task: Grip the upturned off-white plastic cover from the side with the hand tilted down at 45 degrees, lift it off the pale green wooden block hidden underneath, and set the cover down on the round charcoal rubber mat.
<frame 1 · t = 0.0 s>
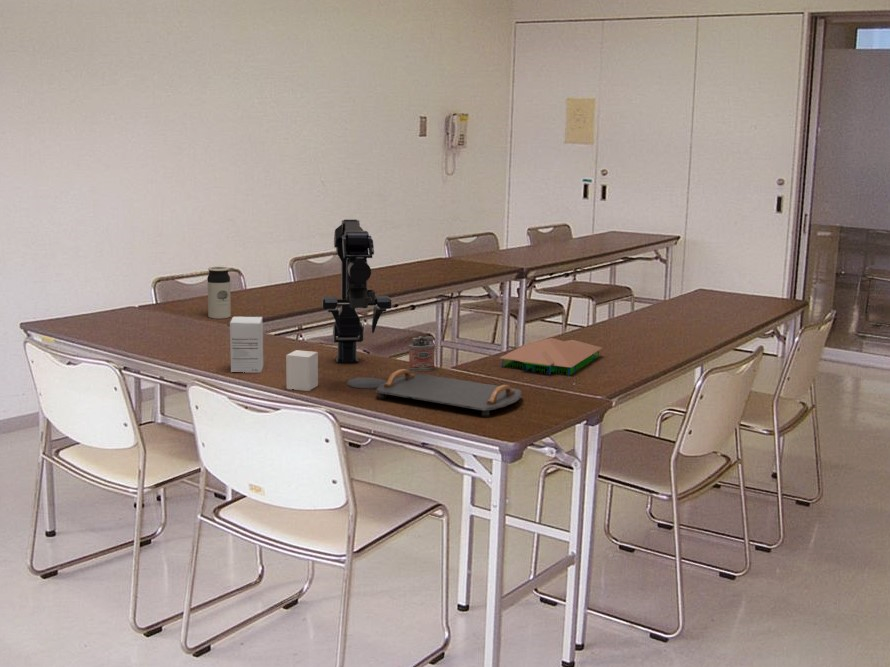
hand: (356, 333, 292), 15 cm above the table, tool pointing down, fingers open, 9 cm apart
lighter: (421, 370, 314), on the table
mat: (366, 383, 296), on the table
supplement box: (247, 370, 310), on the table
serving board: (448, 401, 283), on the table
block: (302, 380, 291), in the cover
cover: (302, 387, 291), on the table
house: (549, 364, 327), on the table
travel mug: (219, 317, 385), on the table
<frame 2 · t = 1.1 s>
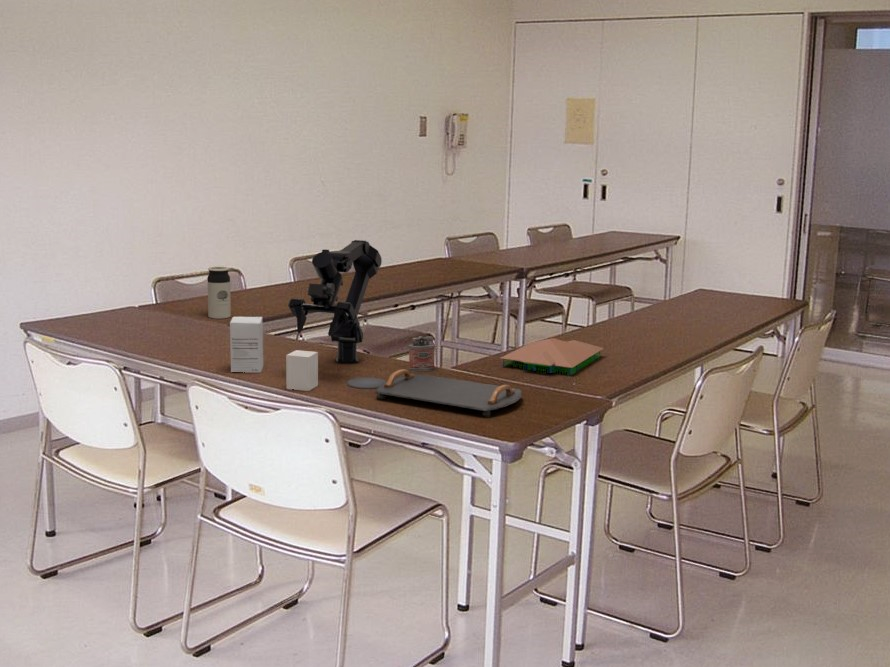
hand: (313, 334, 296), 13 cm above the table, tool tilted 45°, fingers open, 9 cm apart
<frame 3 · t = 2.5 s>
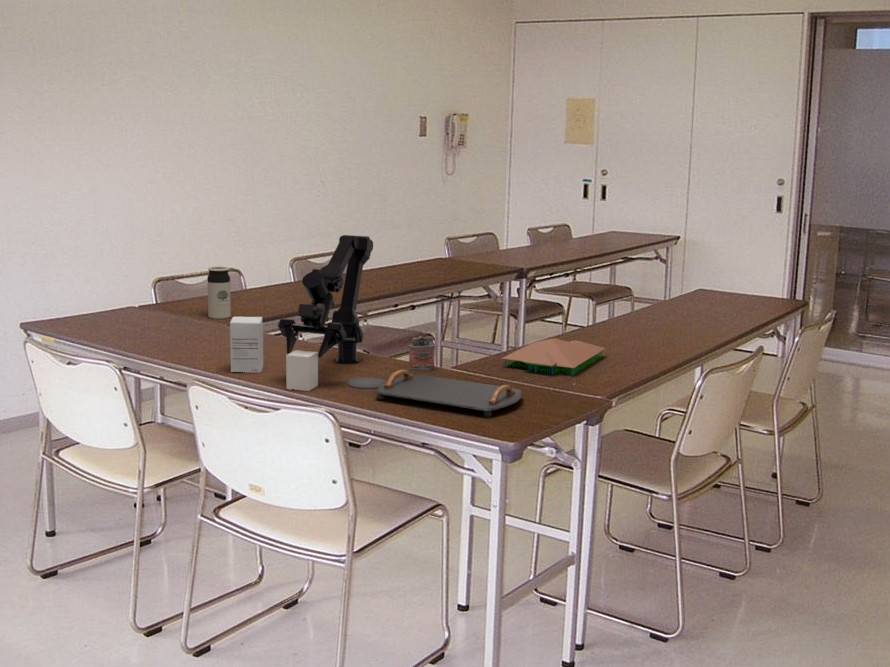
hand: (303, 355, 290), 9 cm above the table, tool tilted 45°, fingers open, 9 cm apart
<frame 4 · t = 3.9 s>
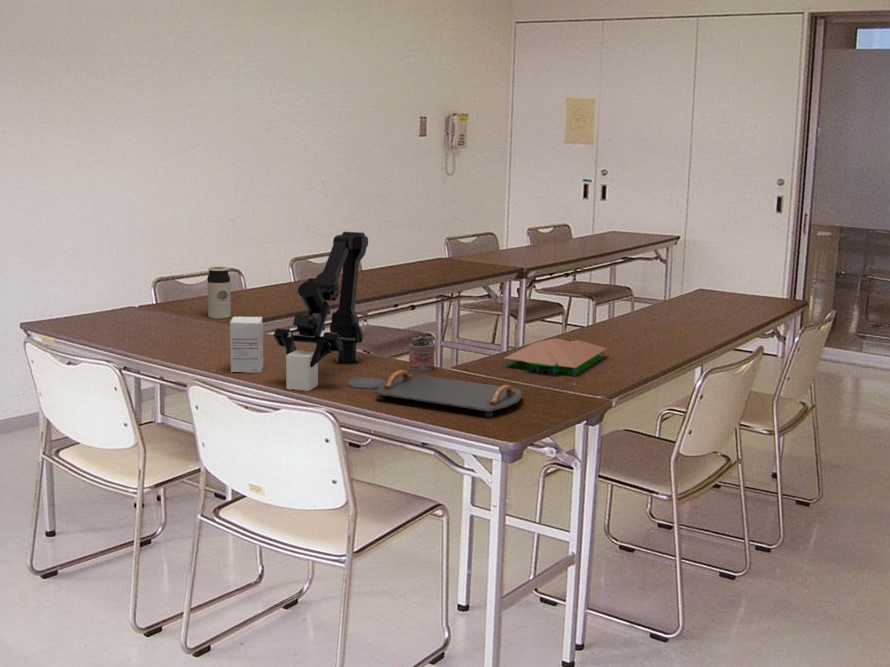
hand: (299, 365, 288), 7 cm above the table, tool tilted 45°, fingers closed on cover, 6 cm apart
cover: (302, 387, 291), on the table, touching gripper
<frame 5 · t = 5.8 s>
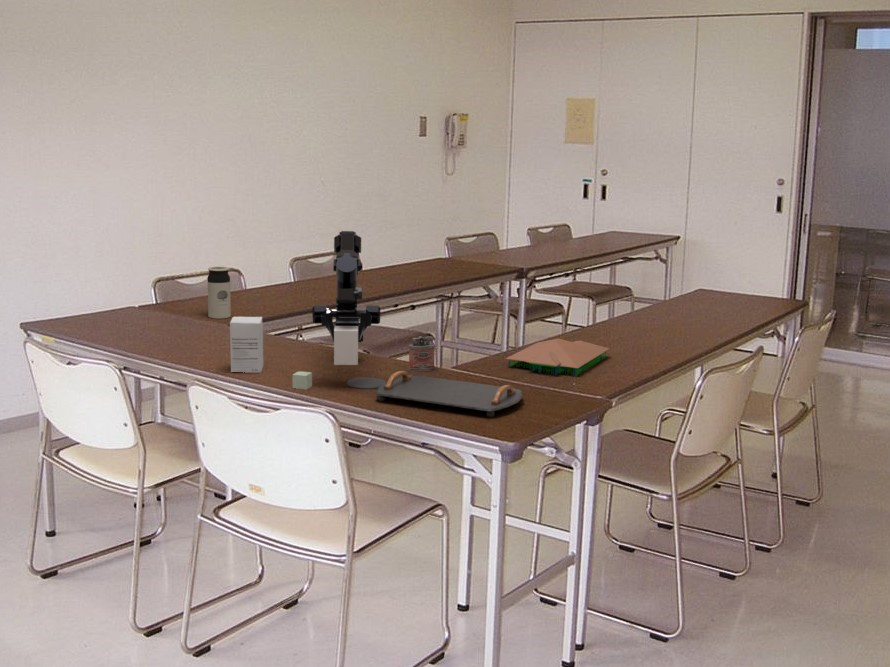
hand: (346, 340, 289), 13 cm above the table, tool tilted 45°, fingers closed on cover, 6 cm apart
cover: (346, 362, 292), point 7 cm above the table, touching gripper
when the fingers open (8 cm above the table, at t = 8.0 s): cover drops 1 cm, resting on mat.
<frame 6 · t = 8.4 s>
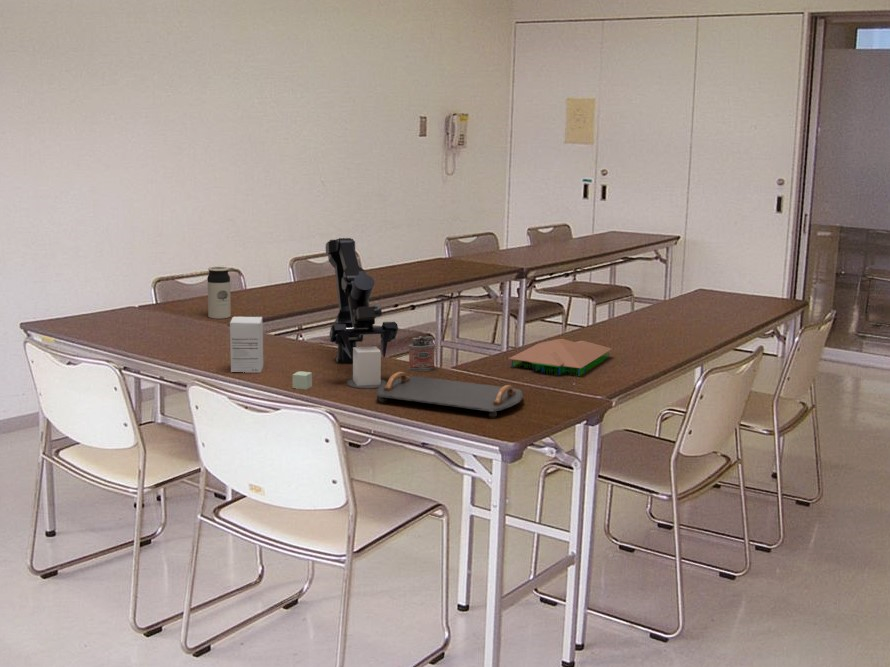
hand: (368, 357, 293), 8 cm above the table, tool tilted 45°, fingers open, 9 cm apart
cover: (366, 382, 296), resting on mat
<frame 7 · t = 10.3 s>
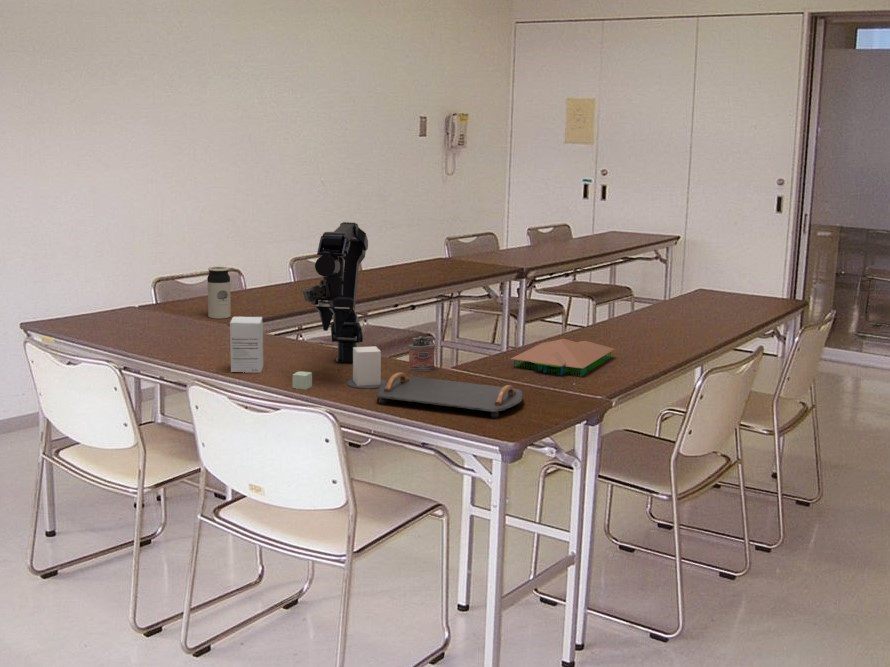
hand: (331, 331, 300), 13 cm above the table, tool pointing down, fingers open, 9 cm apart
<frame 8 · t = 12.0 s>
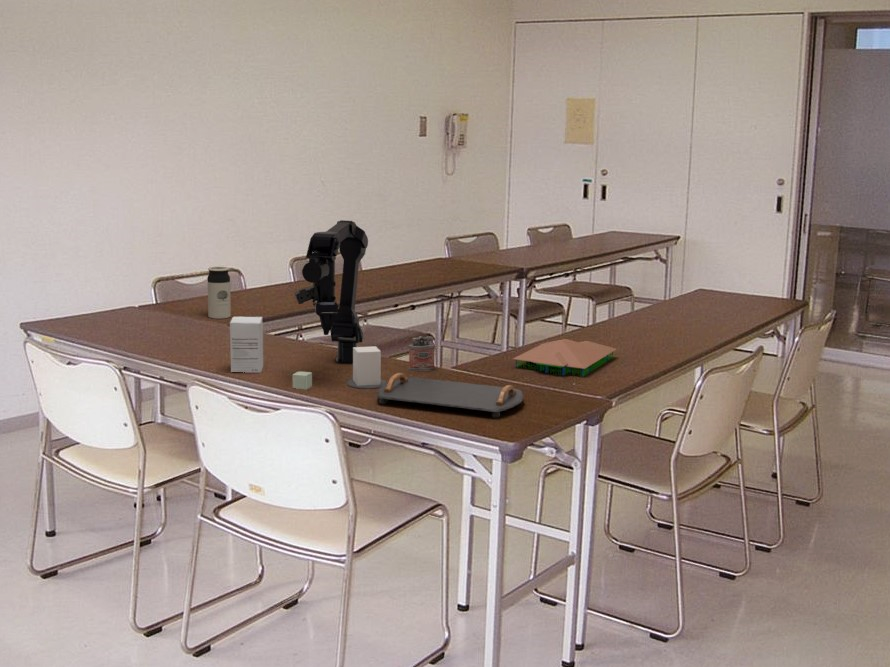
hand: (324, 331, 301), 13 cm above the table, tool pointing down, fingers open, 9 cm apart
at the end: cover 0.0 cm from the mat (horizontally); cover tilted 0°; cover resting on mat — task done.
